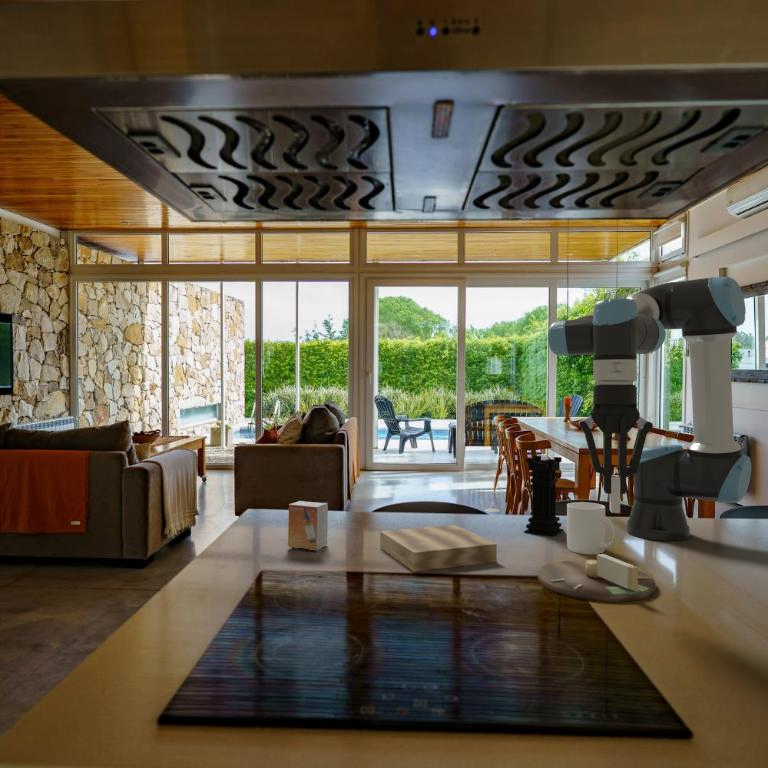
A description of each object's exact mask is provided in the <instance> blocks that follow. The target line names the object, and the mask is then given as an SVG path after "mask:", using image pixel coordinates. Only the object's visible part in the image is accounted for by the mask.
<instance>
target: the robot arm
mask: <svg viewBox="0 0 768 768" xmlns="http://www.w3.org/2000/svg"><path fill="white" fill-rule="evenodd" d="M746 312H747V310H746V303H745V297H744V294H743V291H742V289H741V287H740V285H739V283H738V282H737V281H736V280H735V279H734V278H733V277H730V276H717V277H715V276H714V277H713V276H711V277H707V278H706V277H705V278H699V279H698V278H697V279H696V278H695V279H689V280H688V279H687V280H682V281H671V282H663V283H661V284H657V285H654V286H651V287H648V288H645V289H643V290H641V291H638V292H635V293H633V294H630V295H629V296H627V297H625V298H620V297H619V298H606V299H601V300H598V301H596V303H595V304H594V305H593V312H592V313H590V314H587V315H584V316H582V317H581V316H580V317H578V318H574V319H564V320H559V321H555V322H553V323H552V324H551V325H550V326H549V328H548V333H547V342H548V347H549V349H550V350H551V353H553V354H554V355H556V356H567V357H571V356H586V355H587V356H589V355H593V374H592V375H593V378H592V381H594V382H596V384H594V386H593V387H592V388H593V389H592V392H593V395H592V397H593V401H592V402H593V403H592V404H593V406H592V409H591V411H590V416H587V417H586V418H585V419H583V420H582V419H581V420H579V421H578V425H579V427H580V428H581V430H582V432H583V433H584V436H585V441H586V445H587V449H588V453H589V457H590V460H591V465H592V469H593V470H594V472H595V473H599V474H600V475H602V476H603V491H604V493H605V494H608V495H609V511H610V512H611V513H612V514H621V495H626V494H627V478H628V476H629V475H633V504H632V507H631V510H630V514H629V519H628V520H627V521H626V532H627V534H629V535H631V536H634V537H637V538H641V539H647V540H653V541H664V542H675V541H676V542H677V541H678V542H681V541H685V540H688V539H689V540H690V538H691V528H690V526H689V525H688V521H687V518H686V513H685V511H684V507H683V505H684V504H683V498H686V499H694V500H701V501H702V500H703V501H710V502H717V503H719V504H720V503H726V504H727V503H728V504H729V503H730V504H737V503H739V502H741V501H742V500H743V499H744V498H745V496H746V493H747V492H748V488H749V485H750V481H751V477H752V462H751V458H750V456H748V455H746V454H742V446H741V445H740V444H739V443H738V442H737V441H735V439H734V438H735V437H734V435H735V434H734V413H733V412H734V411H733V393H732V392H733V391H732V364H731V362H732V361H731V359H732V358H731V340H732V339H733V337H735V336H736V335H737V333H738V328H737V327H739V326H742V325H743V324H744V323H745V320H746V314H747V313H746ZM666 330H681V337H682V339H684V340H685V341H687V342H688V344H689V361H690V364H689V365H690V382H691V383H690V384H691V385H690V387H691V403H692V404H691V405H692V425H693V440H692V441H691V442H690V443H689V444H688V445H687V450H684V447H683V445H682V444H666V445H665V444H663V445H652V446H645V443H646V439H647V435H648V434H649V432H650V431H651V430H652V428H653V426H654V424H653V422H651V421H648V420H646V419H644V418H643V417H641V414H640V412H639V409H638V387H637V386H636V384H634V382H636V381H637V380H638V378H637V376H638V373H637V371H638V370H637V369H638V367H637V360H638V355H647V354H652V353H655V352H656V351H658V350H659V349H660V348H661V347H662V346H663V344H664V342H665V340H666V335H667V334H666ZM593 422H594V423H595V425H596V426H597V427H598V429H599V430H600V431H601V432H602V438H603V439H602V443H603V445H602V446H603V447H602V448H603V449H602V450H603V453H602V465H601V462H600V458H599V453H598V451H597V446H596V443H595V439H594V434H593V431H592V429H593V428H594V425H593ZM636 423H637V424H636ZM635 425H636V428H637V430H638V431H637V432H636V436H635V441H634V445H633V448H632V451H631V455H630V460H629V464H628V457H627V455H628V445H627V444H628V443H627V441H628V433H629V432H630V431H631V430H632V429H633V427H634V426H635ZM614 434H617V474H616V475H615V474H613V473H612V472H613V471H612V469H613V466H612V464H613V463H612V462H613V458H612V457H613V453H612V450H613V443H612V442H613V441H612V440H613V435H614Z"/></svg>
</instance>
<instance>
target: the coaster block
mask: <svg viewBox="0 0 768 768" xmlns="http://www.w3.org/2000/svg"><path fill="white" fill-rule="evenodd" d="M379 533H380V536H379V538H380V539H379V541H380V543H379V545H380V546H379V548H380V549H381V550H383V551H384V552H385V553H387V554H388V555H390V557H392V558H394V559H395V560H396V561H398V562H400V563H401V564H402V565H404V567H406V568H408V569H409V570H411V571H412V572H414V573H415V572H422V571H423V572H424V571H431V570H441V569H448V568H457V567H466V566H475V565H483V564H485V565H486V564H493V563H497V561H498V560H497V559H498V557H497V553H498V552H497V551H498V550H497V548H498V547H497V543H495V542H494V541H493V542H492V541H491V540H489V539H487V538H484V537H482V536H480V535H478V534H476V533H474V532H471V531H470V530H467V529H465V528H463V527H461V526H459V525H456V524H449V525H448V524H447V525H437V526H426V527H425V526H424V527H414V528H413V527H412V528H402V529H391V530H380V532H379Z"/></svg>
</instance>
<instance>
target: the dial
mask: <svg viewBox="0 0 768 768" xmlns="http://www.w3.org/2000/svg"><path fill="white" fill-rule="evenodd" d="M586 561H587V560H563V561H561V560H560V561H556V562H551V563H548V564H545V565H542V566H540V568H539V569H538V571H537V580H538V581H539V583H540V585H542V586H543V587H544V588H547V589H548V590H550V591H553V592H555V593H558V594H561V595H564V596H567V597H572V598H574V599H575V598H576V599H579V600H580V599H581V600H586V601H593V602H594V601H595V602H602V603H604V602H605V603H625V602H626V603H627V602H628V603H629V602H637V601H641V600H645V599H648V598H650V597H652V596H653V595H655V593H656V581H655V579H654V578H652V577H651V576H650V575H649V574H647V573H645V572H642V571H641V570H638V590H631V589H627V588H625V587H623V586H620V585H618V584H616V583H614V582H611V581H609V580H607V579H605V578H594V577H589V576H587V575H586ZM654 592H655V593H654ZM651 595H652V596H651Z"/></svg>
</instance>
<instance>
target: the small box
mask: <svg viewBox="0 0 768 768" xmlns="http://www.w3.org/2000/svg"><path fill="white" fill-rule="evenodd" d="M328 510H329V504H328V502H316V501H315V502H313V501H304V500H298V501H296V502H292V503H289V504H288V529H287V530H288V531H287V533H288V534H287V536H288V537H287V547H288V546H289V547H288V548H290V547H294V548H293V549H299V548H305V549H312V550H318V551H320V550H322V549H323V548H322V547H324V546H326V545H327V546H328V526H329V524H328V522H329V521H328V518H329V517H328V516H329V515H328V514H329V511H328ZM327 546H326V547H327ZM321 548H322V549H321ZM324 548H325V547H324ZM305 549H304V550H305ZM319 549H320V550H319Z"/></svg>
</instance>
